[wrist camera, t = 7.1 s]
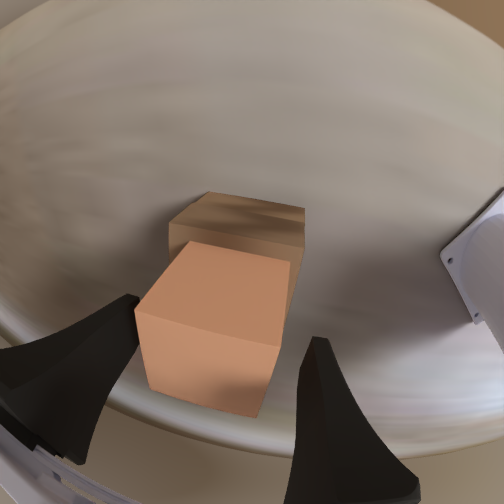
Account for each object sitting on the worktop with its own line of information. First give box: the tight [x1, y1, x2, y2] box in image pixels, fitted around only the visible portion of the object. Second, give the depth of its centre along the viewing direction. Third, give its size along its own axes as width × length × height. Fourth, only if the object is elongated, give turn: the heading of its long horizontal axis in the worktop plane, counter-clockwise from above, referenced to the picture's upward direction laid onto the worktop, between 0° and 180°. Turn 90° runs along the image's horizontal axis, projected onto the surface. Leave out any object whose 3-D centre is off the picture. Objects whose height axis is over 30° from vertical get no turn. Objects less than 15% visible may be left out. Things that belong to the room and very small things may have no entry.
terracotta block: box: [134, 241, 290, 418], centre depth 11 cm, size 4×4×5 cm
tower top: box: [169, 203, 305, 329], centre depth 14 cm, size 6×6×3 cm
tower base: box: [196, 192, 305, 227], centre depth 17 cm, size 6×6×3 cm
